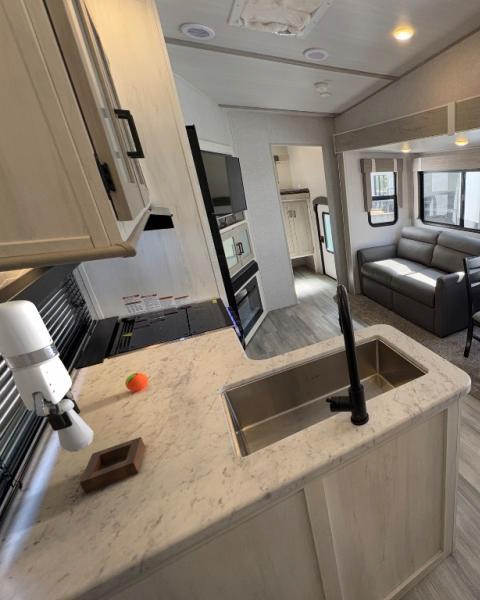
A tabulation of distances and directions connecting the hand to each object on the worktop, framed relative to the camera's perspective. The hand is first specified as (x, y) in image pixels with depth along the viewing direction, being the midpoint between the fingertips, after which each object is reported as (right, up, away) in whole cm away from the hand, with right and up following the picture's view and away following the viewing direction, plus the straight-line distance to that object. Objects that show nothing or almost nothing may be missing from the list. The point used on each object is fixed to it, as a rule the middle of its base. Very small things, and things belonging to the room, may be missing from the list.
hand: (67, 420), depth 74 cm
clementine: (-24, -7, +48) cm, 54 cm away
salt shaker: (+1, -7, +3) cm, 8 cm away
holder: (+1, -18, +12) cm, 22 cm away
